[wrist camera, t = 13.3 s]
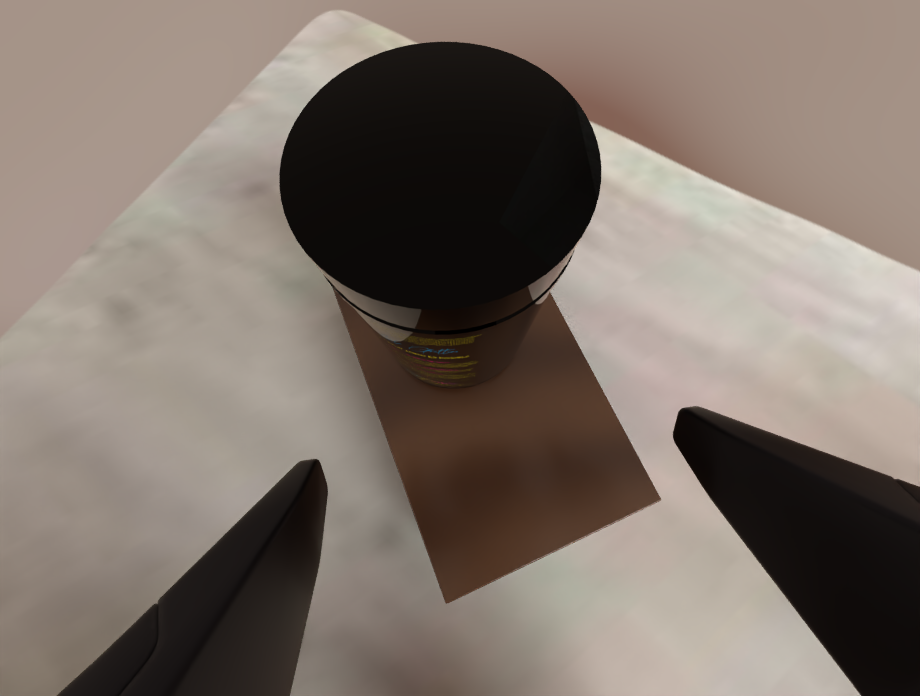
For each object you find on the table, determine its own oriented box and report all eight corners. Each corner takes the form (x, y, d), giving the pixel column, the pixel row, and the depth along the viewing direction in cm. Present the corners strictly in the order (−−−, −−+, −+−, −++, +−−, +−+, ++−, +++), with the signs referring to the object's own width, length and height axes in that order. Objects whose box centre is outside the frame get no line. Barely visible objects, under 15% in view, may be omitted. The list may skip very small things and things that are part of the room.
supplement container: (532, 386, 17) (634, 295, 7) (387, 398, 17) (267, 326, 7) (515, 256, 18) (573, 29, 8) (384, 267, 18) (285, 52, 8)
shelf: (611, 486, 21) (662, 500, 15) (451, 562, 20) (445, 604, 14) (495, 257, 25) (503, 205, 19) (358, 311, 24) (327, 273, 18)
